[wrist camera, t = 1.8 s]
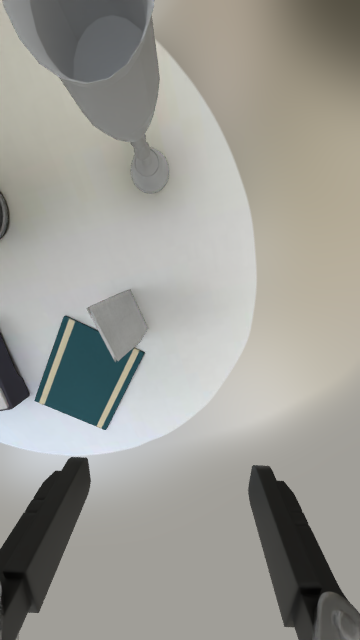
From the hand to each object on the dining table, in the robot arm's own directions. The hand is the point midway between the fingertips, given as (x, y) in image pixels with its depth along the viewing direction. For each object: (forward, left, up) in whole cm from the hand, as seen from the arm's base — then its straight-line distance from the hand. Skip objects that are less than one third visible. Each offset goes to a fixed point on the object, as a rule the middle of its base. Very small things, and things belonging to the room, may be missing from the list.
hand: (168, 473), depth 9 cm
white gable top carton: (-8, -2, -23) cm, 24 cm away
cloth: (-10, -16, -23) cm, 29 cm away
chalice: (-13, +17, -23) cm, 32 cm away
